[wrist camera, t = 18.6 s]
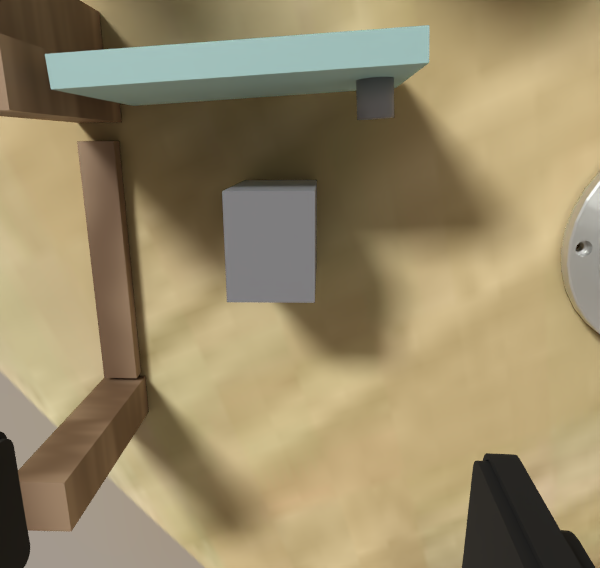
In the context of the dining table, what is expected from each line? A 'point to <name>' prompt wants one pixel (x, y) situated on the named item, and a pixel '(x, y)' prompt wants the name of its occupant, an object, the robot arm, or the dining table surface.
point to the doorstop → (270, 241)
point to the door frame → (104, 259)
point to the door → (250, 69)
